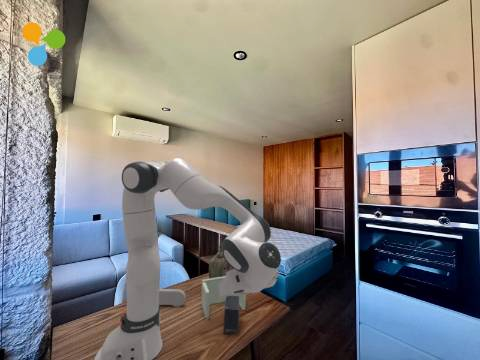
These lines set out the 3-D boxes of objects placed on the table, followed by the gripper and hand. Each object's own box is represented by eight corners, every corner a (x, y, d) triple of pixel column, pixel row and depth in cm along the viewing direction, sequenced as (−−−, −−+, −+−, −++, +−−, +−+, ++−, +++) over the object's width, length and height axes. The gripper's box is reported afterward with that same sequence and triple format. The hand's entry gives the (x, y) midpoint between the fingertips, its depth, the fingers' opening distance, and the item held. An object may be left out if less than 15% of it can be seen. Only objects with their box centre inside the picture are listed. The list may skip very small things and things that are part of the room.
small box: (238, 334, 85) (239, 309, 85) (223, 334, 85) (223, 309, 85) (239, 317, 96) (239, 295, 96) (225, 317, 96) (225, 295, 96)
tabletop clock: (222, 292, 117) (222, 249, 118) (207, 289, 120) (208, 247, 120) (230, 280, 131) (230, 242, 132) (217, 278, 134) (217, 240, 134)
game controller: (186, 304, 105) (186, 288, 106) (184, 307, 103) (185, 290, 103) (148, 303, 106) (149, 287, 106) (146, 306, 103) (147, 290, 103)
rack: (205, 318, 95) (206, 291, 95) (201, 304, 105) (201, 279, 106) (245, 309, 102) (245, 283, 102) (237, 297, 113) (237, 274, 113)
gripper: (277, 262, 72) (264, 277, 81) (221, 272, 65) (214, 287, 74) (284, 281, 68) (270, 295, 77) (226, 293, 60) (217, 307, 70)
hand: (242, 291), depth 75 cm, fingers closed
